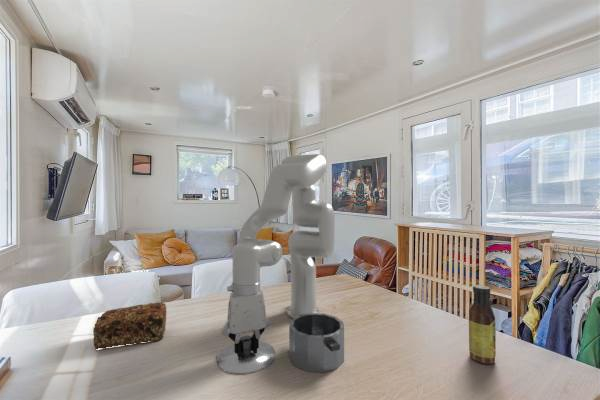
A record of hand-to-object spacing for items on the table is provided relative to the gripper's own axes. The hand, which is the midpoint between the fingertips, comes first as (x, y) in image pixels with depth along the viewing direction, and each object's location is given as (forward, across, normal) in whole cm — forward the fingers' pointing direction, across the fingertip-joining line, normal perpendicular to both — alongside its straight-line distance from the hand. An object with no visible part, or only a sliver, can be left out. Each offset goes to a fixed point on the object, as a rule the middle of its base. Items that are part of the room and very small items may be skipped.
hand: (246, 352), depth 81 cm
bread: (+1, -30, +25) cm, 39 cm away
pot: (+1, +18, -8) cm, 20 cm away
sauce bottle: (+1, +59, -28) cm, 65 cm away
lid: (+1, 0, 0) cm, 1 cm away
